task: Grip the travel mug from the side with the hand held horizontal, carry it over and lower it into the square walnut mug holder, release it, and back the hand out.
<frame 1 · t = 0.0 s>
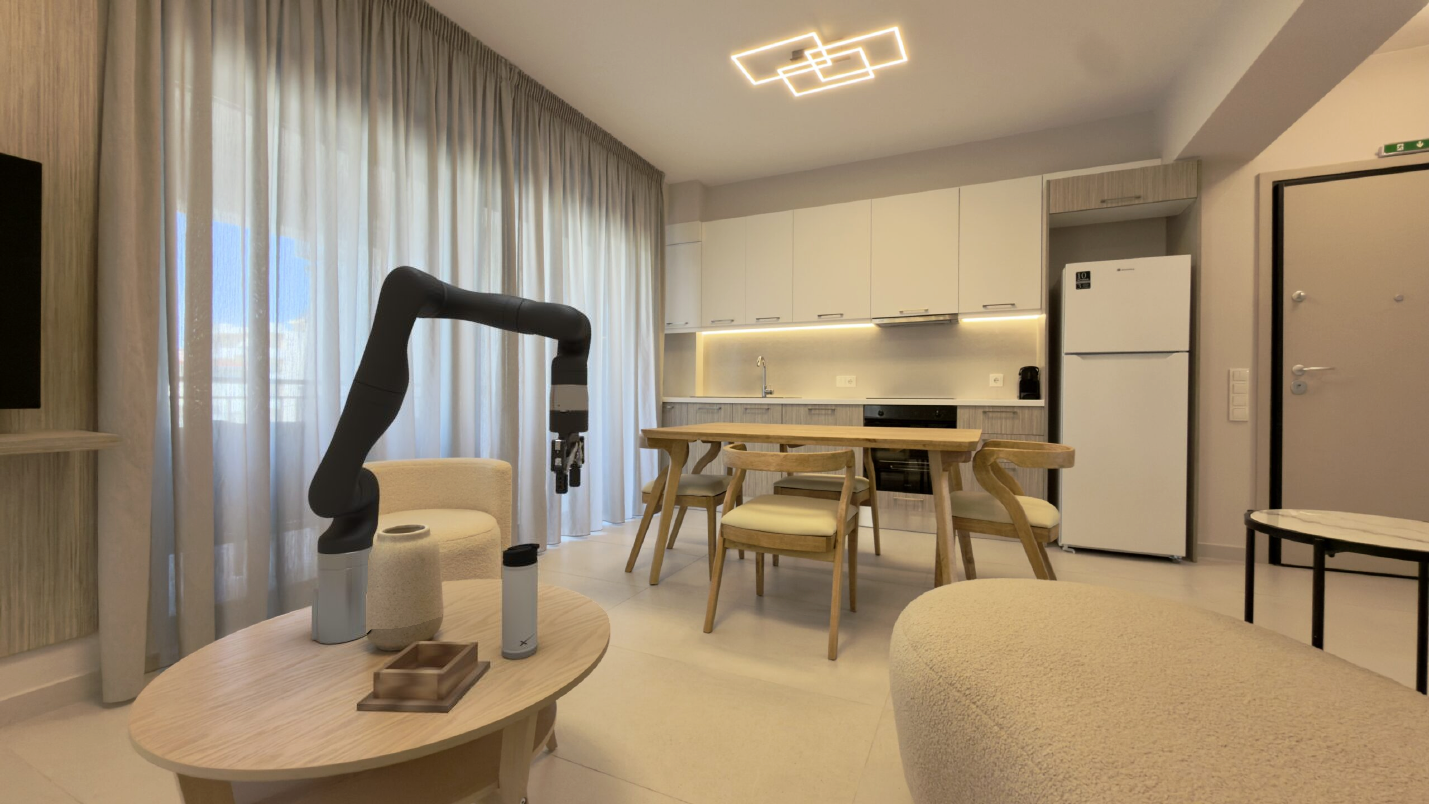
hand: (568, 490, 107), 29 cm above the table, tool pointing down, fingers open, 8 cm apart
mug holder: (428, 686, 88), on the table
travel mug: (520, 652, 100), on the table
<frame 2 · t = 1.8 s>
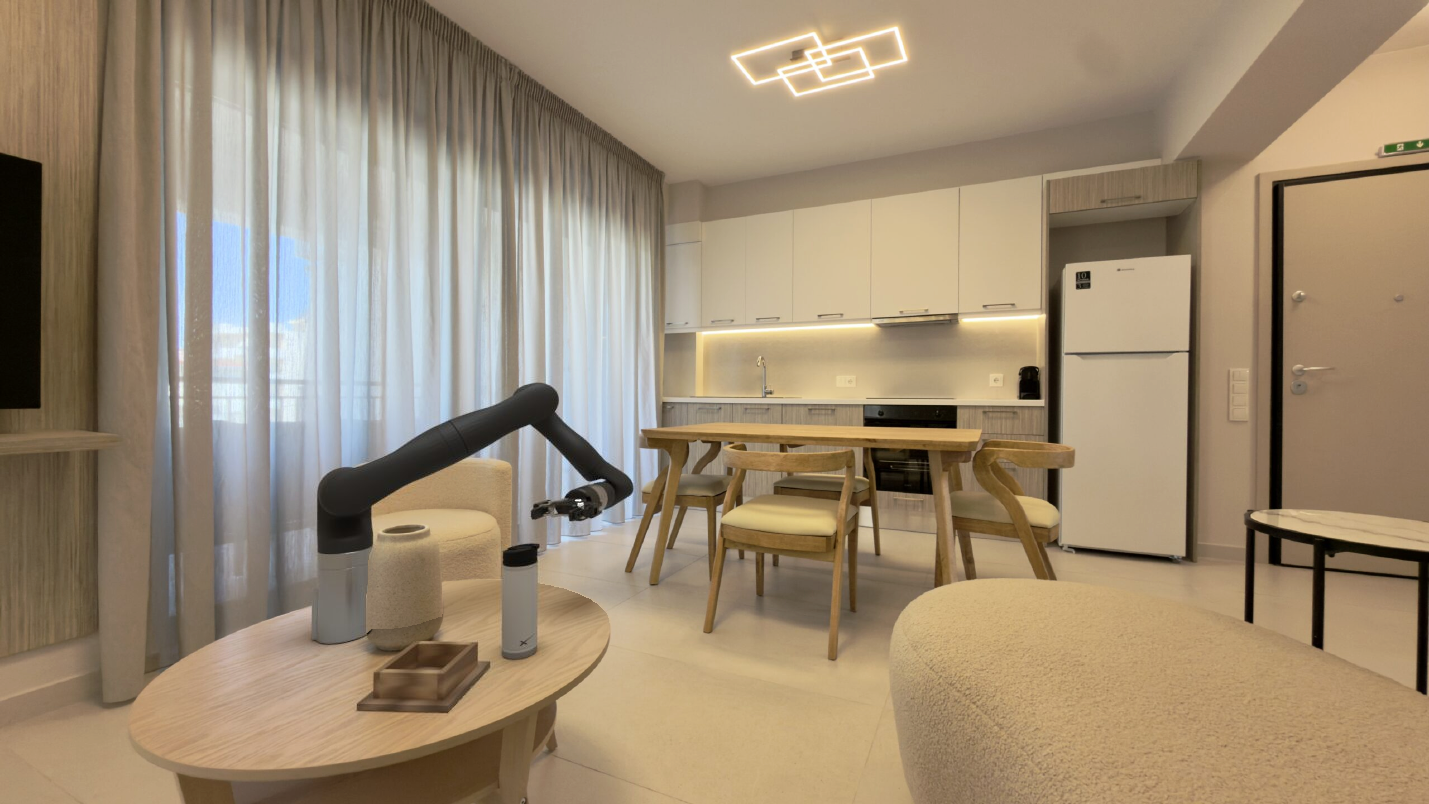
hand: (551, 515, 111), 23 cm above the table, tool horizontal, fingers open, 8 cm apart
nothing on the table moved.
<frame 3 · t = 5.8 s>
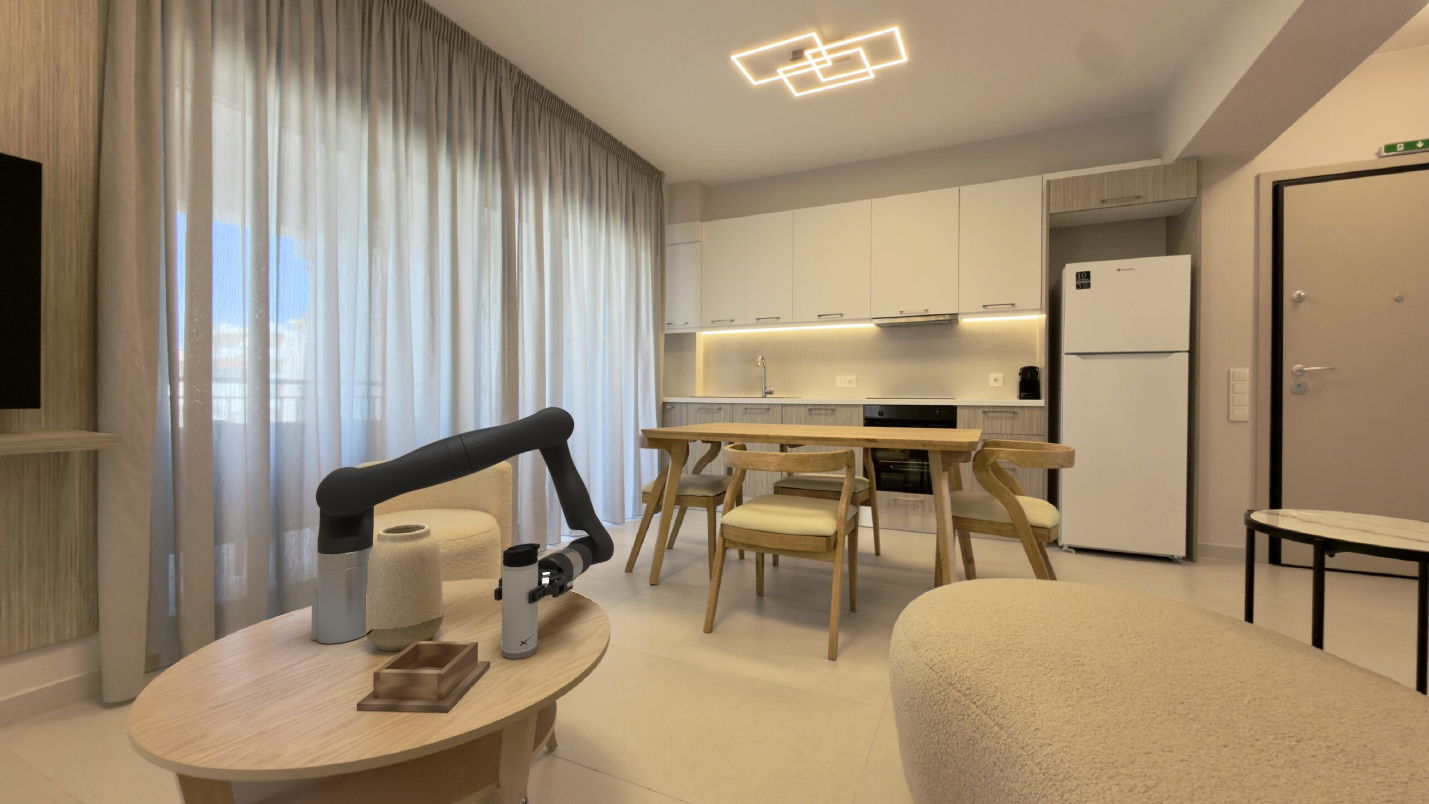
hand: (513, 596, 98), 11 cm above the table, tool horizontal, fingers closed on travel mug, 6 cm apart
travel mug: (520, 652, 100), on the table, touching gripper
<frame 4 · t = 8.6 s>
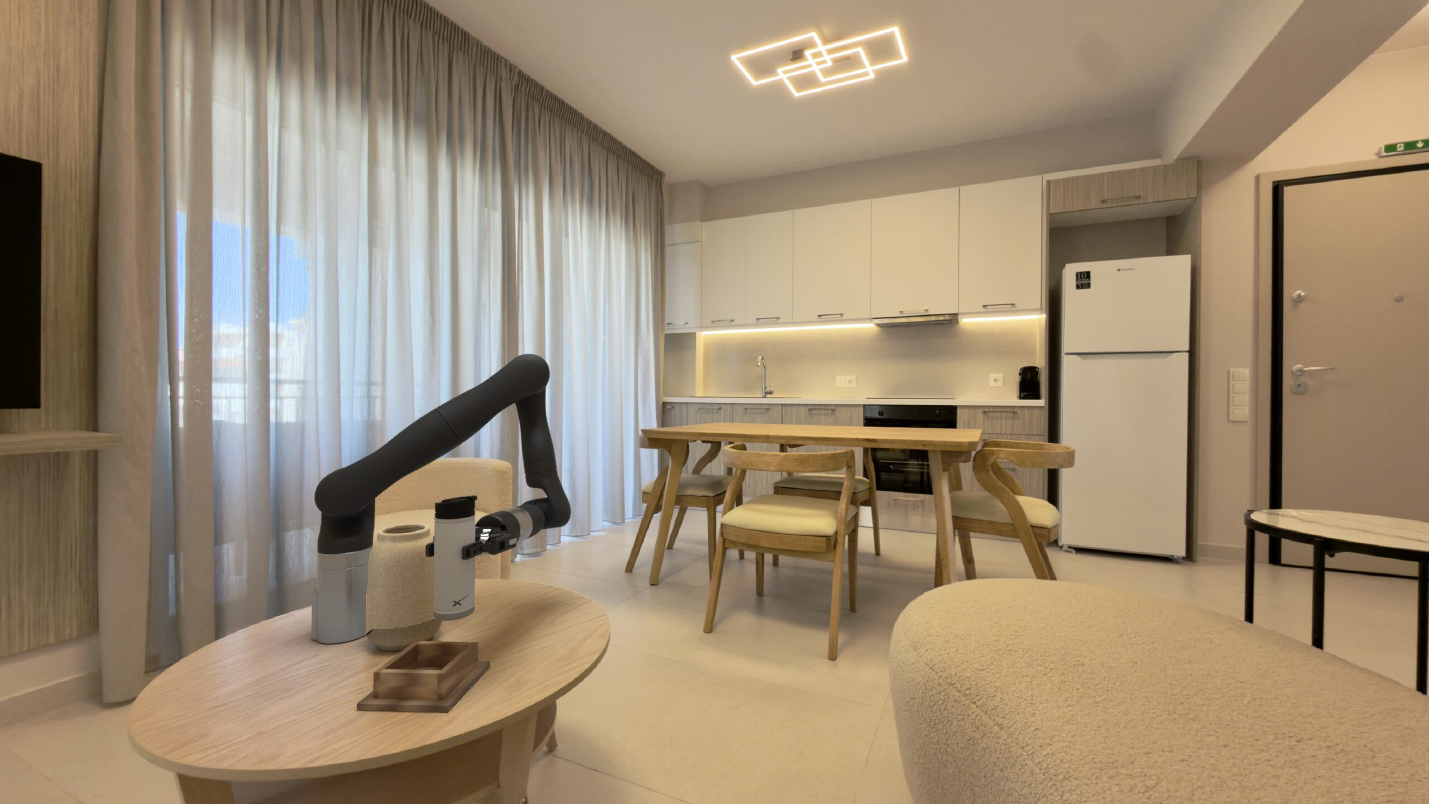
hand: (445, 552, 89), 22 cm above the table, tool horizontal, fingers closed on travel mug, 6 cm apart
travel mug: (455, 615, 91), point 10 cm above the table, touching gripper
when the fingers open (13 cm above the table, at t = 11.1 s): travel mug drops 1 cm, resting on mug holder.
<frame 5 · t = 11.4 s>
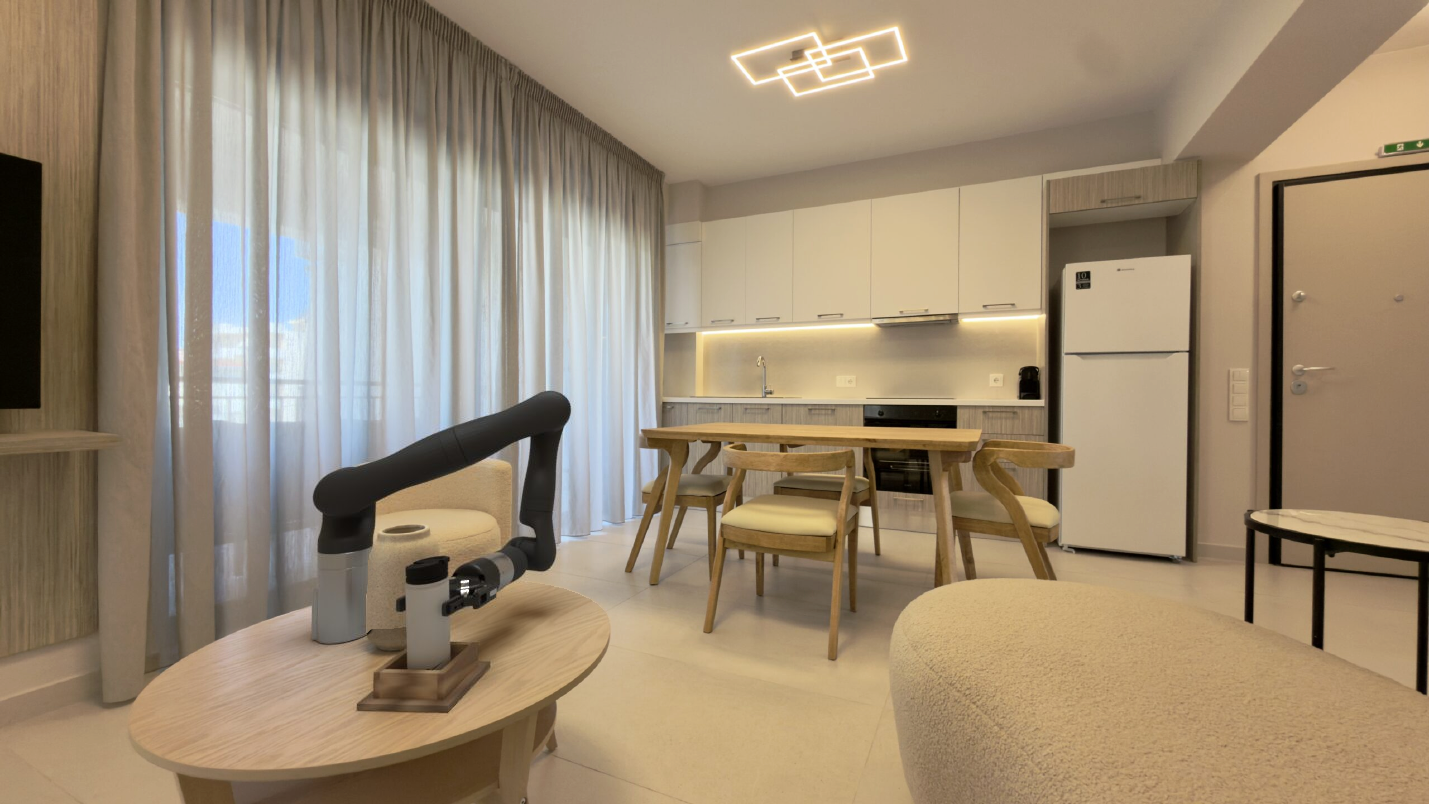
hand: (420, 608, 86), 14 cm above the table, tool horizontal, fingers open, 8 cm apart
travel mug: (430, 681, 88), point 1 cm above the table, touching mug holder
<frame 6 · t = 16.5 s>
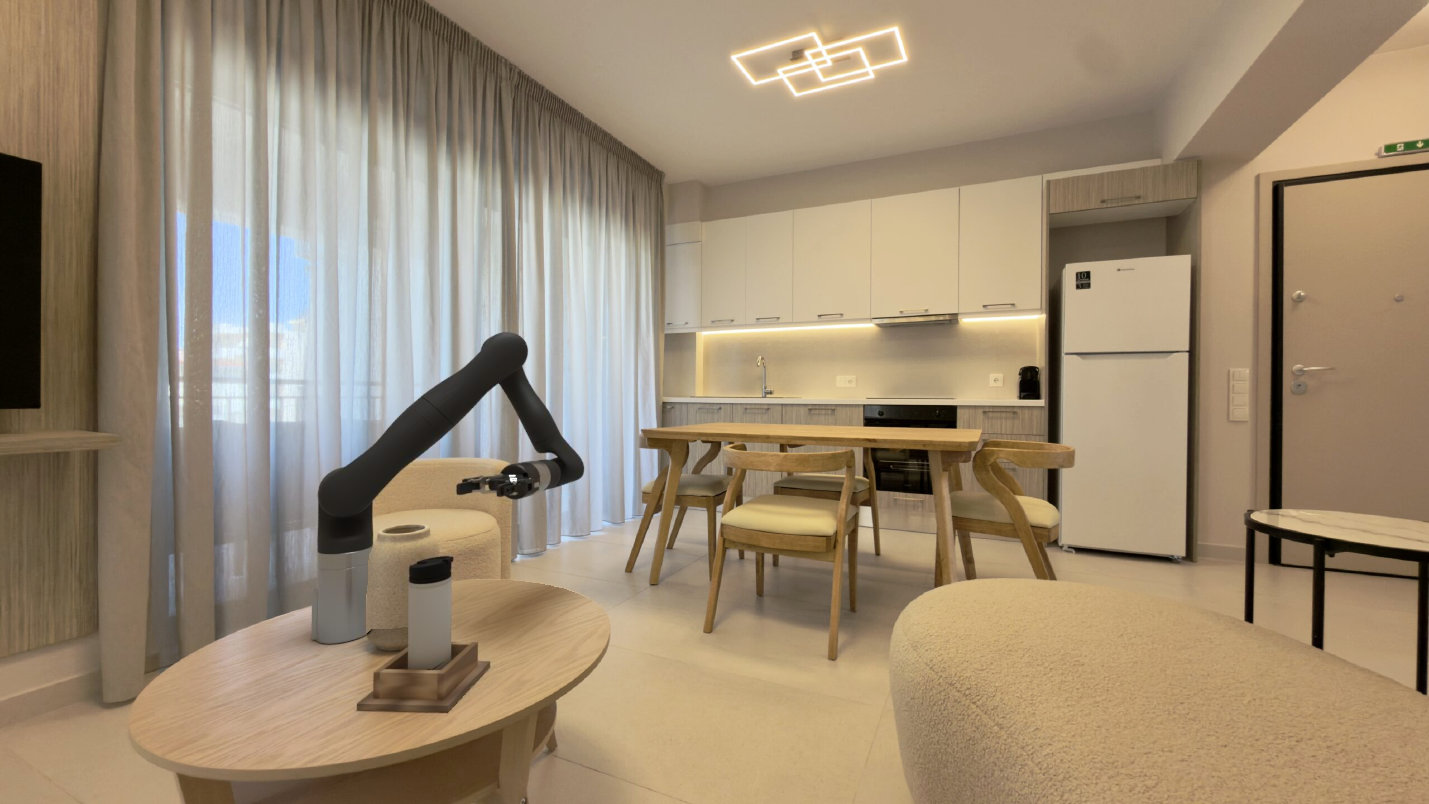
hand: (478, 490, 101), 30 cm above the table, tool horizontal, fingers open, 8 cm apart
nothing on the table moved.
at the end: travel mug 0.3 cm off-centre on the mug holder, point 0.8 cm above the mug holder's base; travel mug tilted 0°; the gripper is holding nothing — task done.
